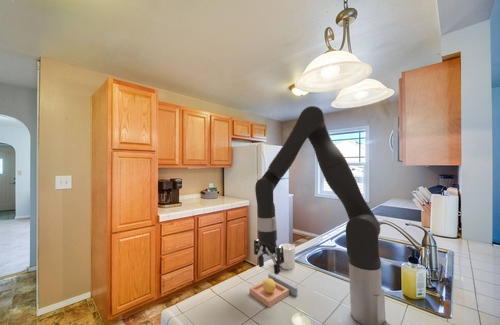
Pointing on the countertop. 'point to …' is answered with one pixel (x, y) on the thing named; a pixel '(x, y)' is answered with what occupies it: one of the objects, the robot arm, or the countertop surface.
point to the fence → (284, 284)
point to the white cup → (288, 256)
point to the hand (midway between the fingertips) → (268, 269)
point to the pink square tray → (269, 294)
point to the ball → (269, 285)
